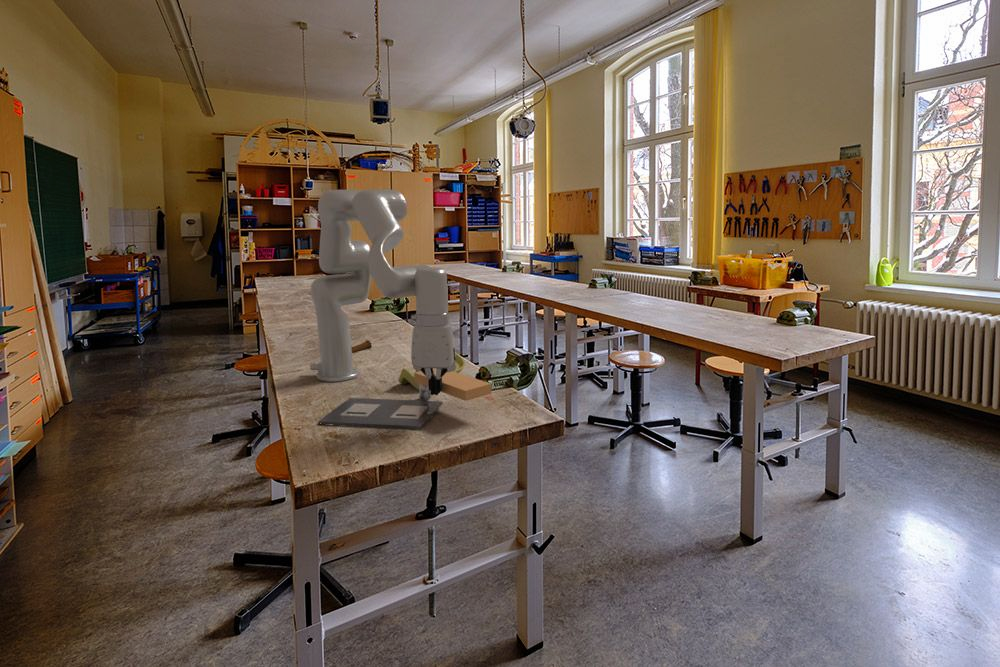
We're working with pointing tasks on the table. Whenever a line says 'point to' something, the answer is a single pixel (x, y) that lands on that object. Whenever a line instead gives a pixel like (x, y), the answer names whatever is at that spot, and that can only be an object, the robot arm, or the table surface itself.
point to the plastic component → (409, 377)
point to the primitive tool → (361, 346)
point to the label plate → (385, 412)
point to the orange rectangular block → (458, 385)
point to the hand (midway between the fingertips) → (435, 393)
